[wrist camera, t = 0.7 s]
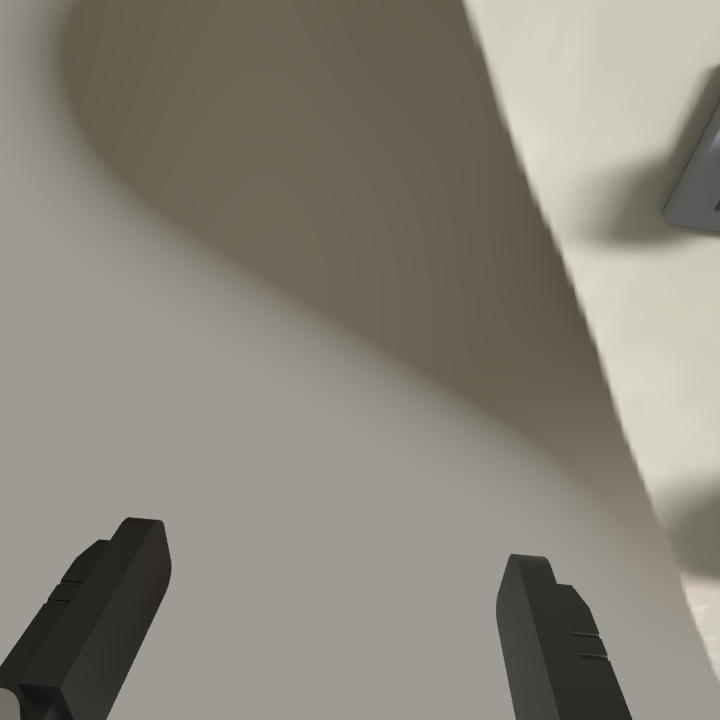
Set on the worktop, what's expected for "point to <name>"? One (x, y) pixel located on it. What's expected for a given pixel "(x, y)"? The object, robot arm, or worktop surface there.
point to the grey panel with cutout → (699, 185)
